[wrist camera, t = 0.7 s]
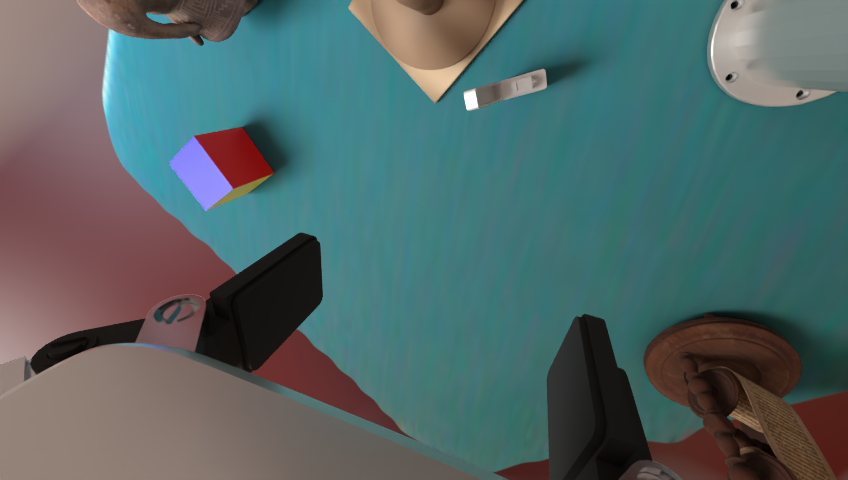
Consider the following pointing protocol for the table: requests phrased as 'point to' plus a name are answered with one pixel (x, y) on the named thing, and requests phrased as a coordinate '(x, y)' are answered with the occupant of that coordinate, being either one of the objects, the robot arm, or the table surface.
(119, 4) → the clay figurine
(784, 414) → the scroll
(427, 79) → the mat
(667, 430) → the table surface
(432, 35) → the lid
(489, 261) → the table surface
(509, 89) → the lighter
